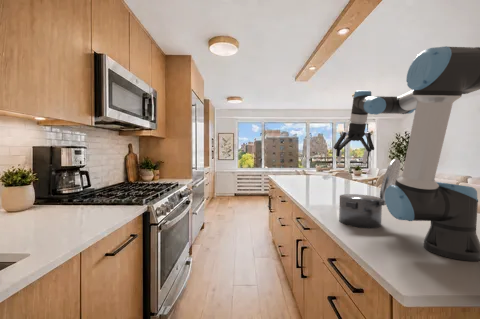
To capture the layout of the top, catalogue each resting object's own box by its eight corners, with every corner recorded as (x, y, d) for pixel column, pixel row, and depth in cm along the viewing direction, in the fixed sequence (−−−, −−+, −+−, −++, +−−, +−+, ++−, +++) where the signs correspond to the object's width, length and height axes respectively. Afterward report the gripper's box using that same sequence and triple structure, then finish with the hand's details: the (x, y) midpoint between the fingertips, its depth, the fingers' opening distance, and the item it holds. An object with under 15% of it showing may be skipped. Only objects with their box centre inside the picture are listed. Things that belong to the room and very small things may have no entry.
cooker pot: (377, 233, 100) (378, 204, 100) (330, 223, 114) (330, 197, 114) (391, 222, 117) (392, 197, 117) (349, 214, 131) (350, 192, 131)
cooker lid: (376, 202, 103) (385, 206, 100) (389, 159, 99) (398, 161, 97) (388, 197, 116) (396, 200, 114) (399, 158, 113) (408, 160, 110)
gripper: (378, 121, 126) (371, 160, 133) (330, 120, 126) (325, 159, 133) (387, 124, 119) (378, 165, 126) (335, 123, 119) (330, 164, 126)
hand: (351, 162), depth 129 cm, fingers open, 13 cm apart
